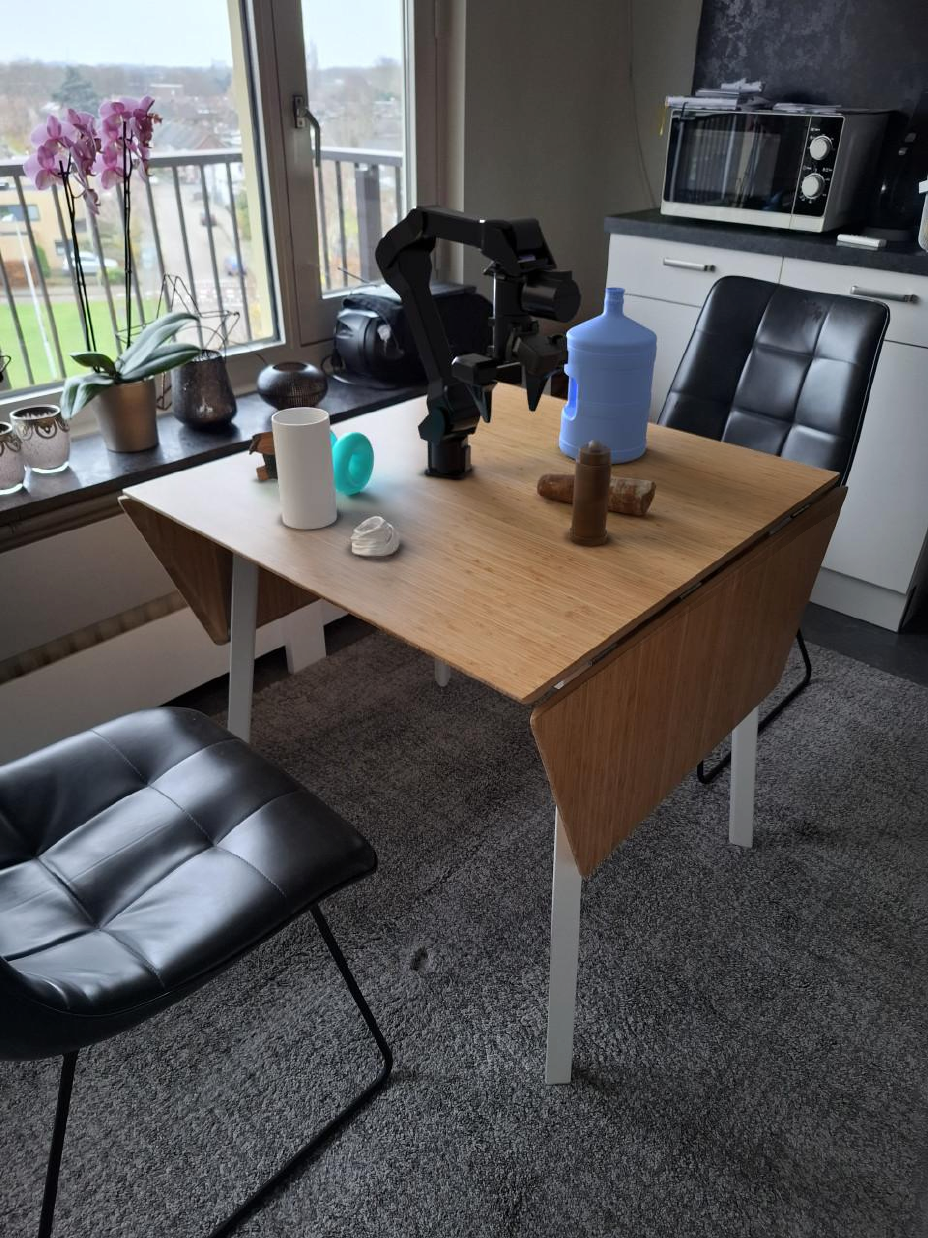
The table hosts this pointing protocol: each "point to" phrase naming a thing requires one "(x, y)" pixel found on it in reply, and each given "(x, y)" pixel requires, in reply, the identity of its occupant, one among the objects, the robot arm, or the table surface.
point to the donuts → (351, 462)
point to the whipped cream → (374, 538)
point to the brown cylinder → (622, 493)
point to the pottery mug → (265, 455)
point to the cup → (305, 467)
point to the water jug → (609, 383)
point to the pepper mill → (591, 494)
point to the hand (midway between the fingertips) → (510, 416)
